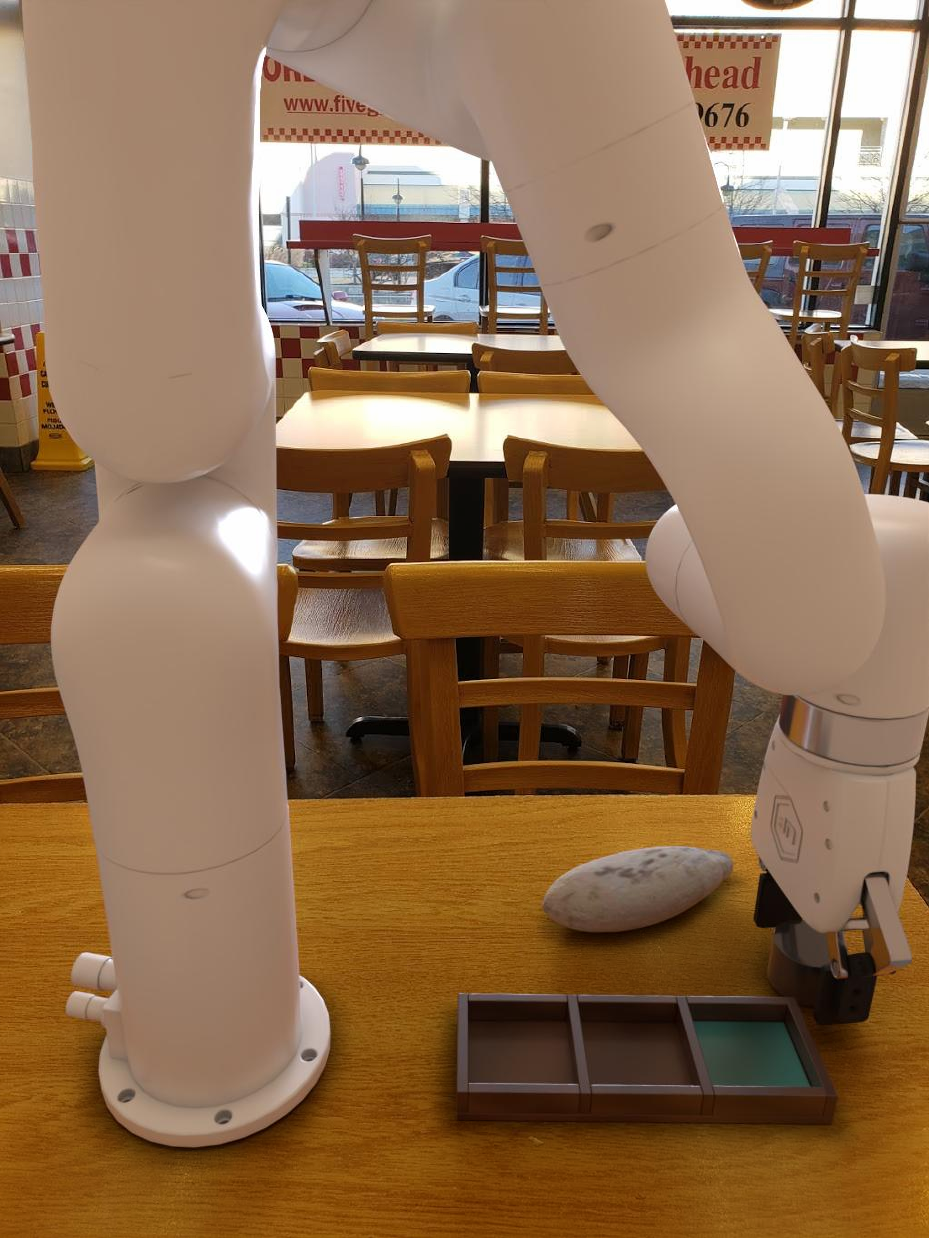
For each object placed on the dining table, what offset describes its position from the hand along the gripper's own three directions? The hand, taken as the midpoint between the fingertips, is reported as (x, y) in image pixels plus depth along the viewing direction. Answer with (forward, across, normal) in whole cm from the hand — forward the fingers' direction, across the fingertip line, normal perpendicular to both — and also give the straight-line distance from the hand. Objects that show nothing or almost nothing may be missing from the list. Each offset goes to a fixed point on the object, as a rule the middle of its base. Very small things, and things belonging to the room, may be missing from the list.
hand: (806, 967), depth 59 cm
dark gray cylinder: (+1, 0, 0) cm, 1 cm away
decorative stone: (+1, -8, -8) cm, 12 cm away
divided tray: (+1, +6, -13) cm, 14 cm away
